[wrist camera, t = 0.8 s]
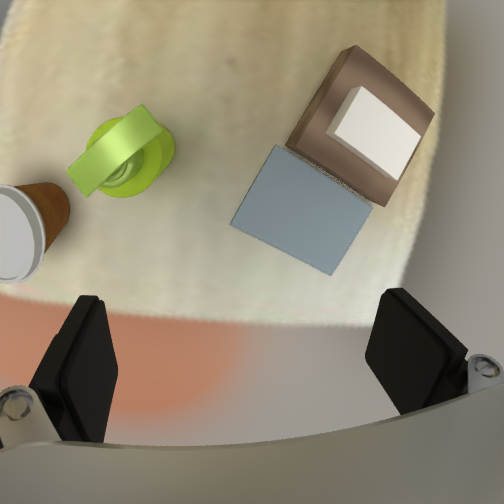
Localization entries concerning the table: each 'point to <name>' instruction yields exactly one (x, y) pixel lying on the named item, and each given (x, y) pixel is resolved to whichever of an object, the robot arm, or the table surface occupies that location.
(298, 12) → the table surface
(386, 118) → the tile
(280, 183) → the mat
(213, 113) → the table surface
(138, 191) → the soap dispenser
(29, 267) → the disposable coffee cup
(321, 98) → the brown wooden block
